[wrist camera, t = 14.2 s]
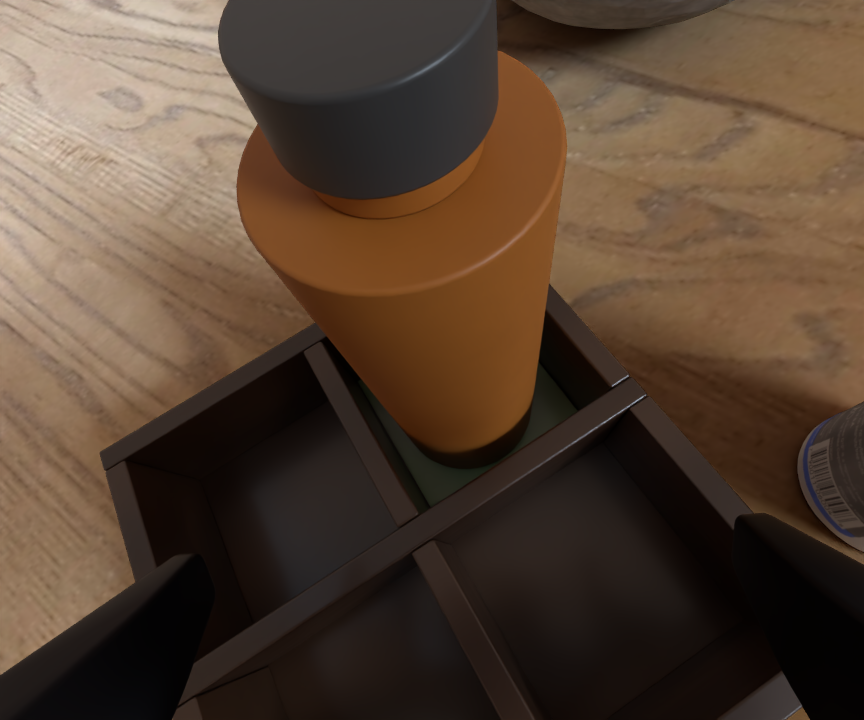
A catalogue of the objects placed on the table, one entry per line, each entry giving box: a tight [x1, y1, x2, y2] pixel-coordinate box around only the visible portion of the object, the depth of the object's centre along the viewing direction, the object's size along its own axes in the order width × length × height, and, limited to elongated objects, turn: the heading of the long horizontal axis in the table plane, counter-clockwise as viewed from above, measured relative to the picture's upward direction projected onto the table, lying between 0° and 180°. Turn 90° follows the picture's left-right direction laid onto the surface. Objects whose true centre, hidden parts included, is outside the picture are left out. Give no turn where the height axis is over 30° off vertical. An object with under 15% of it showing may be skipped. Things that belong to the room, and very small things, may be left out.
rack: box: [100, 284, 802, 720], centre depth 15 cm, size 15×15×5 cm
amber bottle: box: [218, 0, 567, 469], centre depth 11 cm, size 5×5×14 cm
